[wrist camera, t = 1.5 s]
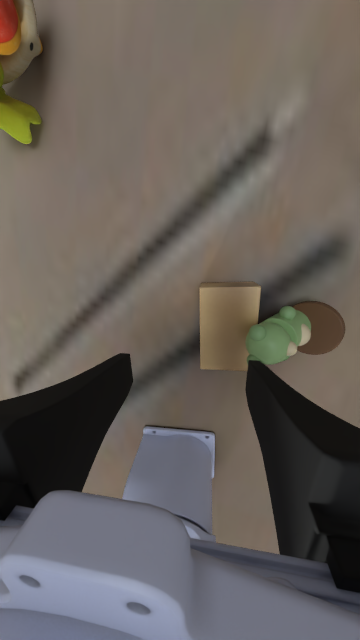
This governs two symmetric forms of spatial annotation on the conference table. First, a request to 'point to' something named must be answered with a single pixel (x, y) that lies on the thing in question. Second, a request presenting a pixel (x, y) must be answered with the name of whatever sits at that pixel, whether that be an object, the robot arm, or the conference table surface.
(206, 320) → the beech block
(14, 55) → the bird rattle
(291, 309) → the green figurine on base
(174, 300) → the conference table surface
